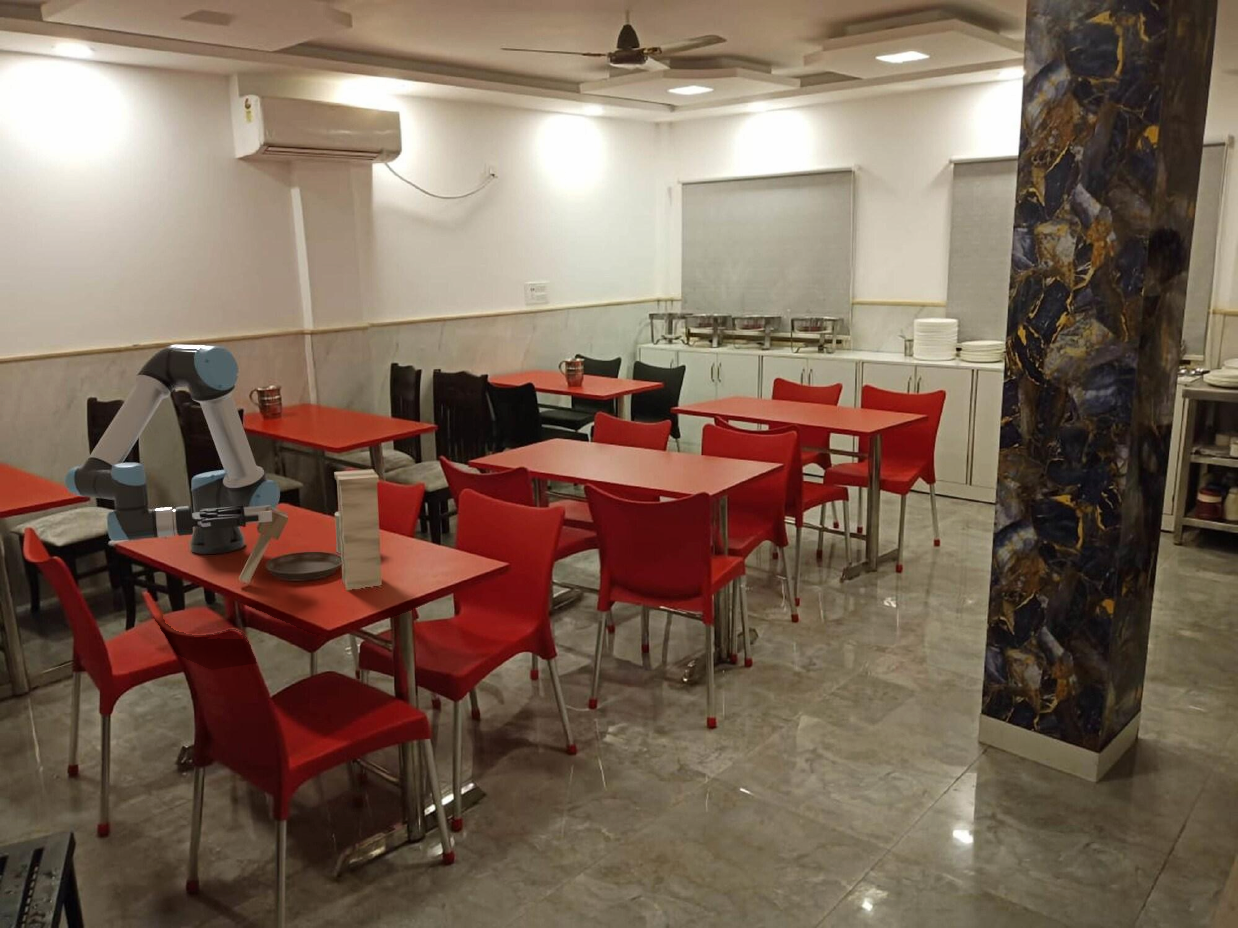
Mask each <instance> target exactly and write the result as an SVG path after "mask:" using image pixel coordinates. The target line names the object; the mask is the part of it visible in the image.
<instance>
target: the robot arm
mask: <svg viewBox="0 0 1238 928" xmlns="http://www.w3.org/2000/svg"><path fill="white" fill-rule="evenodd" d="M238 373H239V365H238V363H237V360H236V357H235V356H234V355H233V354H232V352H230V351H229V350H228V349H226V348H224V347H222V346H217V345H211V344H203V345H201V344H199V345H198V344H184V343H181V344H180V343H177V344H172V345H171V344H170V345H168V346H166V347H163V348H162V349H160V350H159V351H158V352H156V353H155V354H154V355H153V356H151V358H150V359H148V361H146V362H145V363H144V365H143V366H142V367H141V369H140V370H139V372H138V373H137V374H136V376H135V378H134V382H135V385H134V387H133V388H132V389H131V391H130V393H129V395H128V396H127V398H126V399H125V400H124V402H123V404H122V405H121V406H120V409H119V410H118V411H117V413H116V414H115V416H114V417H113V419H112V421H111V422H110V423H109V425H108V427H107V428H106V430H105V432H104V433H103V435H102V436H101V438H100V439H99V441H98V443H97V444H96V445H95V447H94V448H93V450H92V451H91V454H90V455H89V456H88V458H87V459H86V461H85V462H84V464H83V465H80V466H74V467H72V468H71V469H69V470H68V472H67V474H66V475H65V479H64V480H65V486H66V489H67V490H68V491H69V492H70V494H72V495H75V496H79V497H82V498H83V497H84V498H95V499H96V498H97V499H104V500H105V499H106V500H113V501H114V511H110V512H108V513H107V517H106V522H107V533H108V538H109V539H110V540H111V541H114V542H120V541H125V542H126V541H129V542H131V541H135V540H136V541H138V540H146V539H157V538H162V540H166V539H167V537H168V538H169V537H174V536H176V535H177V536H179V537H180V536H181V537H183V536H191V538H190V542H189V543H190V544H189V546H190V551H191V552H193V553H195V554H200V555H217V554H218V555H219V554H225V553H231V552H234V551H237V550H240V549H241V548H244V547H245V544H246V543H245V537H244V534H243V532H242V530H241V528H240V527H242V528H246V526H247V524H255V523H258V524H259V522H270V521H272V511H265V510H266V508H267V506H270V507H272V508H275V509H277V508H278V504H279V502H280V497H281V490H280V488H279V485H278V483H277V482H276V481H275V480H272V479H268V478H267V476H266V472H265V471H264V468H263V467H261V466H259V465H257V463H256V460H255V458H254V455H253V452H252V448H251V446H250V444H249V441H248V437H247V435H246V432H245V429H244V425H243V423H242V420H241V418H240V415H239V410H238V409H237V405H236V403H235V400H234V397H233V395H232V394H233V392H234V391H235V389H236V385H235V384H236V383H237V382H238V378H239V376H238V375H237V374H238ZM181 387H182V388H187V389H188V393H189V395H190V397H191V399H192V400H193V401H194V402H197V403H199V404H200V408H201V410H202V412H203V417H204V418H205V420H206V423H207V425H208V426H207V427H208V430H209V431H210V435H211V437H212V440H213V442H214V443H213V444H214V445H215V446H214V447H215V449H216V451H217V454H218V456H219V460H220V462H221V464H222V467H223V469H221V470H220V469H219V470H213V471H207V472H203V473H199V474H196V475H194V476H193V477H192V478H191V488H190V489H191V490H190V491H191V499H192V507H191V506H190V505H182V506H180V505H179V506H176V507H175V508H173V506H170V507H168V506H167V507H166V506H165V507H157V508H149V503H148V502H149V500H148V486H147V483H148V482H147V480H148V479H147V477H146V476H147V475H146V470H145V466H144V465H143V464H141V463H139V462H124V461H125V459H126V458H127V457H128V456H129V454H130V452H131V450H132V448H133V447H134V446H135V444H136V442H137V441H138V439H139V437H140V436H141V434H142V433H143V431H144V430H145V428H146V427H147V425H148V423H149V422H150V420H151V418H152V417H153V415H154V414H155V412H156V410H157V409H158V407H159V406H160V404H161V403H162V401H163V399H167V398H170V396H171V394H172V392H173V391H175V389H178V388H181ZM192 509H193V512H192Z"/></svg>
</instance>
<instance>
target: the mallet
mask: <svg viewBox="0 0 1238 928" xmlns="http://www.w3.org/2000/svg"><path fill="white" fill-rule="evenodd" d="M265 511H272V521H270V522H259V523H258V524H257V526H256V530H257V531H256V532H257V533H259V534H260V535H259V537H258V539H257V541H256V543H255V545H254V547H253V548H252V551H251V553H250V554H249V556H248V559H247V561H246V563H245V564H244V567H243V568H242V571H241V573H240V575H239V577H238V580H239V581H240V582H242V583H245V584H248V585H249V584H250V582H251V580H252V577H253V576H254V573H255V571H256V570H257V567H258V566H259V563H260V561H261V559H262V557H263V556H264V554H265V551H266V550H267V547H268V546H269V544H270V542H271V540H272V539H273V540H276V541H278V540H279V538H280V536H281V534H282V533H283V532H284V529H285V527H286V525H287V523H288V521H289V515H288V513H287V512H284V511H282V510H280V509H277V508H276V509H275V508H272V507H270V506H267V508H266V510H265Z"/></svg>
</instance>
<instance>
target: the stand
mask: <svg viewBox="0 0 1238 928" xmlns="http://www.w3.org/2000/svg"><path fill="white" fill-rule="evenodd" d="M333 474H334V479H335V480H336V485H337V486H336V487H337V488H336V489H337V490H336V491H337V503H338V504H337V505H338V506H337V508H338V511H339V526H340V544H341V554H340V556H341V561H342V565H341V577H342V582H343V584H344V586H345V589H346V591H353V590H352V589H355V590H362V589H361V588H363V589H366V588H365V587H371V588H374V587H373V586H378V585H382V586H383V582H382V580H383V579H382V565H381V564H382V561H381V543H380V542H381V540H380V519H379V500H378V496H379V495H378V483H380V477H379V476H380V475H378V473H376V472H375V470H374V469H373V468H370V469H369V468H368V469H357V470H342V471H334V472H333Z"/></svg>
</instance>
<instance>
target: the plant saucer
mask: <svg viewBox="0 0 1238 928" xmlns="http://www.w3.org/2000/svg"><path fill="white" fill-rule="evenodd" d="M325 564H326V565H325ZM340 567H342V561H341V554H338V553H337V554H336V553H332V552H328V551H301V552H300V551H299V552H294V553H293V552H292V553H286V554H282V555H278V556H276V557H274V558H271V559H269V560H268V561H266V563H265V568H266V569H267V571H268V572H269V573H270V574H272V575H273V576H274V577H276V578H278V579H280V580H285V581H290V582H291V581H293V582H302V581H303V582H304V581H313V579H314V580H319V579H322V577H323V578H326V577H329V576H330V575H333V574H334V573H336V572H337V571H338V570H339V569H340Z"/></svg>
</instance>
